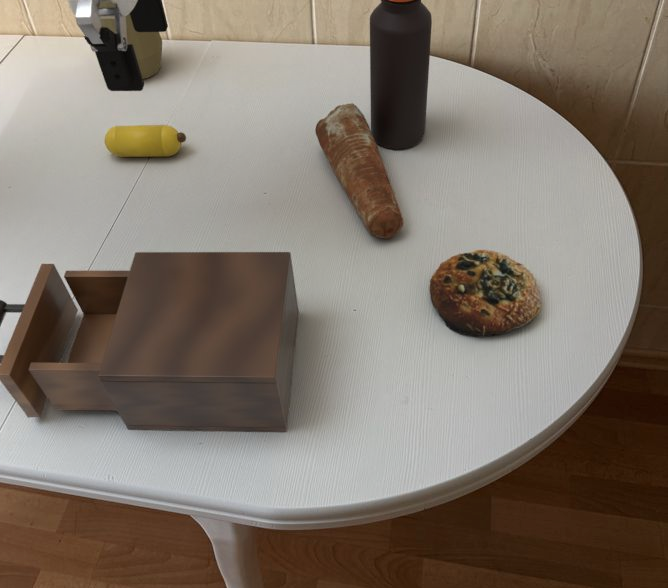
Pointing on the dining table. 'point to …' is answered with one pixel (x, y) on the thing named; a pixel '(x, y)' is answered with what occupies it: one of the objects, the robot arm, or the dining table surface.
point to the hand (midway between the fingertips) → (139, 58)
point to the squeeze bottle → (139, 44)
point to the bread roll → (484, 293)
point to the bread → (360, 168)
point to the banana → (143, 140)
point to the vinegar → (399, 72)
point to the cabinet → (204, 342)
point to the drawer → (61, 340)
